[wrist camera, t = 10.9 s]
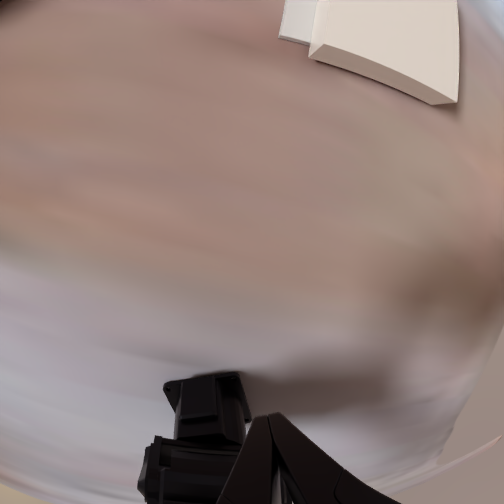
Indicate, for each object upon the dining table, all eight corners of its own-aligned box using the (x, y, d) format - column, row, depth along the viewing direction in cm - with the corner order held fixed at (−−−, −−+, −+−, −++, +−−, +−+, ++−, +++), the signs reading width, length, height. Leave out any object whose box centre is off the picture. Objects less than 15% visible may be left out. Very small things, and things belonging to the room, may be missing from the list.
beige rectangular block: (457, 102, 15) (454, -21, 11) (323, 43, 13) (339, -80, 10) (430, 105, 18) (433, -11, 14) (307, 58, 16) (326, -60, 13)
